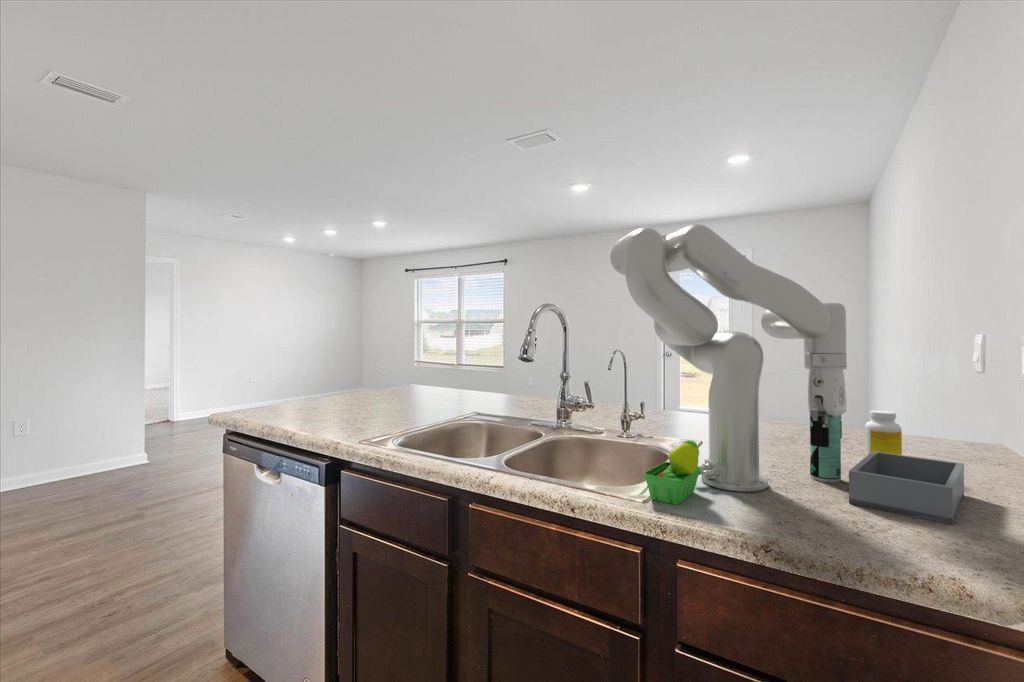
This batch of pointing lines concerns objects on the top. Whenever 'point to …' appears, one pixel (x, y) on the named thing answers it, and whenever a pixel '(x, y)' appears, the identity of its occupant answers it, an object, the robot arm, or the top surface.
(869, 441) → the supplement bottle
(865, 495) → the bin
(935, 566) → the top surface
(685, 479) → the fruit basket
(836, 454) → the spray can
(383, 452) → the top surface
